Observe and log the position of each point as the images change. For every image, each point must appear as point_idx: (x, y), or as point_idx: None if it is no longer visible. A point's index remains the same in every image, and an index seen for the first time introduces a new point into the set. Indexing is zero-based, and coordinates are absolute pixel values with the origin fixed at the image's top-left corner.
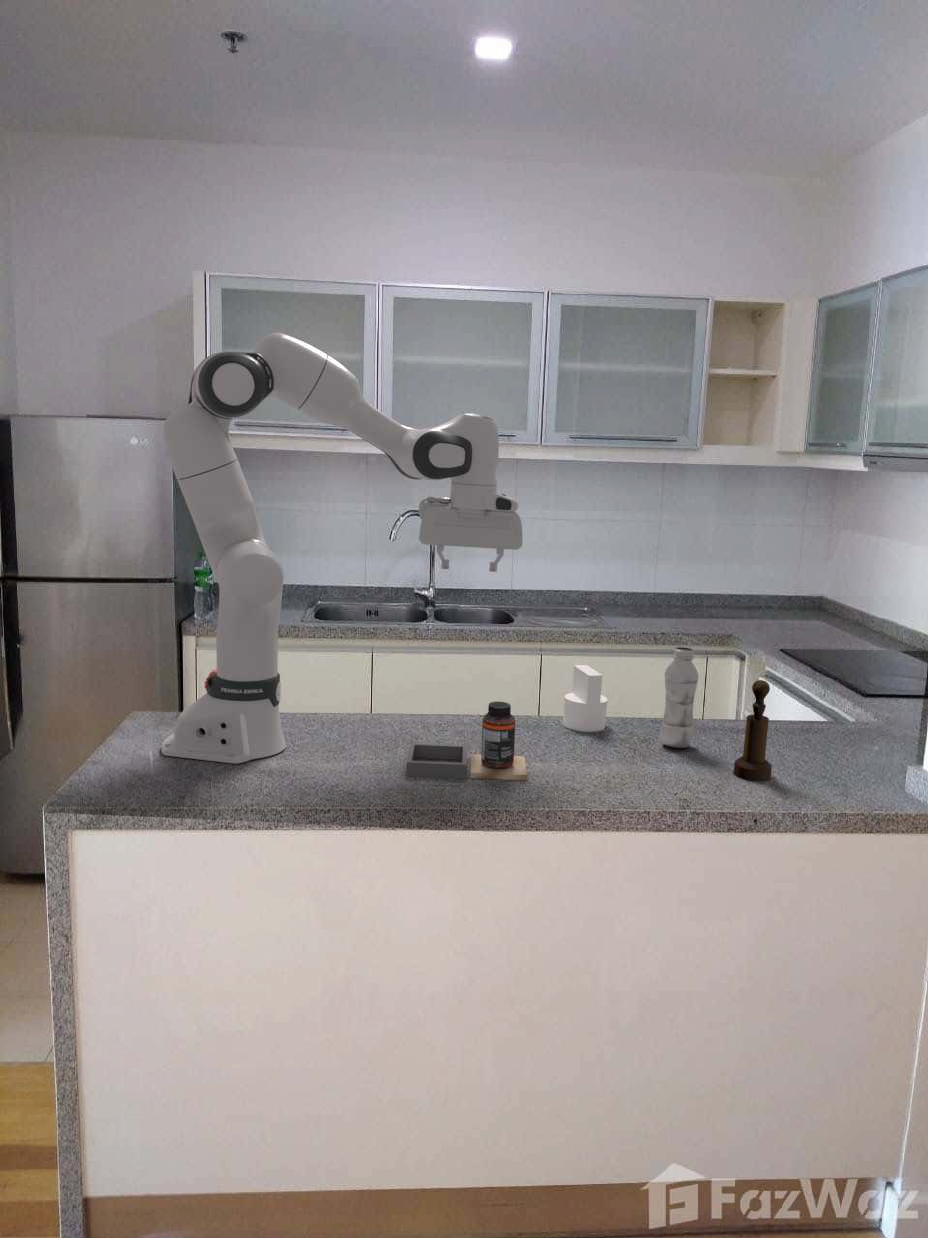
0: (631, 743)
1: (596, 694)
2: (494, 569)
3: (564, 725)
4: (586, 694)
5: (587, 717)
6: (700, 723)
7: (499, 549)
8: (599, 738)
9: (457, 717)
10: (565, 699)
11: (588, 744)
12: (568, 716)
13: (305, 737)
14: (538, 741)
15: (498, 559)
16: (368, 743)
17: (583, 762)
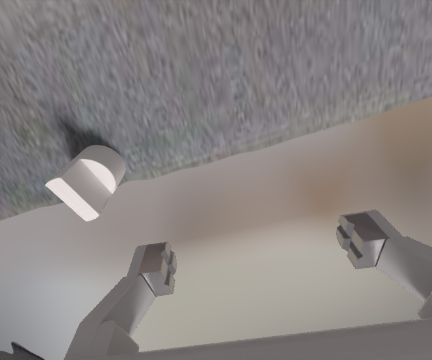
0: (31, 120)
1: (63, 168)
2: (145, 249)
3: (119, 155)
4: (76, 166)
5: (85, 151)
6: (4, 204)
7: (89, 356)
8: (70, 126)
9: (232, 147)
10: (111, 171)
11: (71, 100)
12: (110, 156)
13: (407, 3)
14: (126, 92)
15: (115, 293)
16: (324, 5)
17: (45, 22)
